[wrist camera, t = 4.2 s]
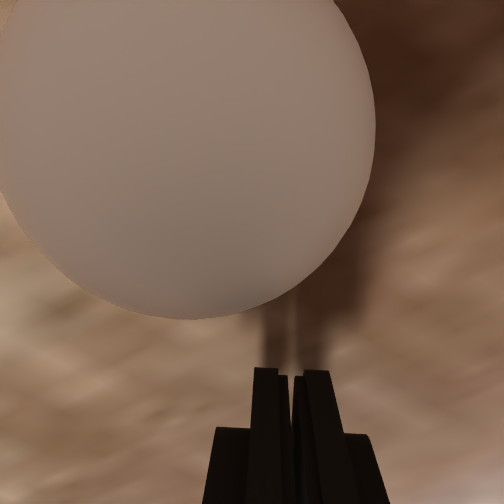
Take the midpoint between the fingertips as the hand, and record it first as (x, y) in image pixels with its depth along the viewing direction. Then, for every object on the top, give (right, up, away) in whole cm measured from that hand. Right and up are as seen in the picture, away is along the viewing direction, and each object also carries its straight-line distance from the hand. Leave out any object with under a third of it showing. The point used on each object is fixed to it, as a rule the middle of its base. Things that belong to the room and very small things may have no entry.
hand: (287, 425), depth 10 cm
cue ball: (-2, +6, -3) cm, 7 cm away
